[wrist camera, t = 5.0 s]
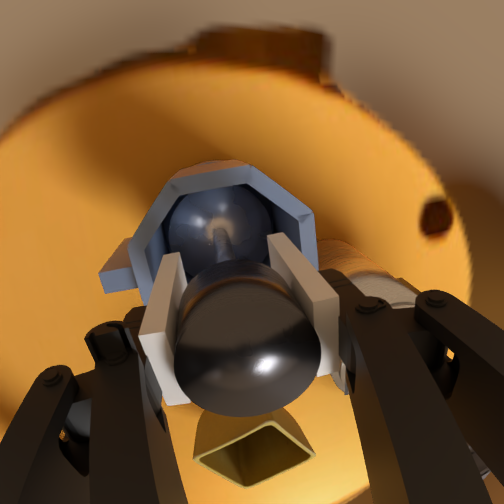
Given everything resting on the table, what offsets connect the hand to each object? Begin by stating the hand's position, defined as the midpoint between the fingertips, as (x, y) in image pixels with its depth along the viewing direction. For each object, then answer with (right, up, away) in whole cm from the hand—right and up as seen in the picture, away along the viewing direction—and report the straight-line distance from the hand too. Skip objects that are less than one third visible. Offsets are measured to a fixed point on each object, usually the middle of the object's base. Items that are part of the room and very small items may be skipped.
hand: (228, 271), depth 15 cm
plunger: (-1, +2, +6) cm, 7 cm away
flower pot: (0, -16, +19) cm, 25 cm away
